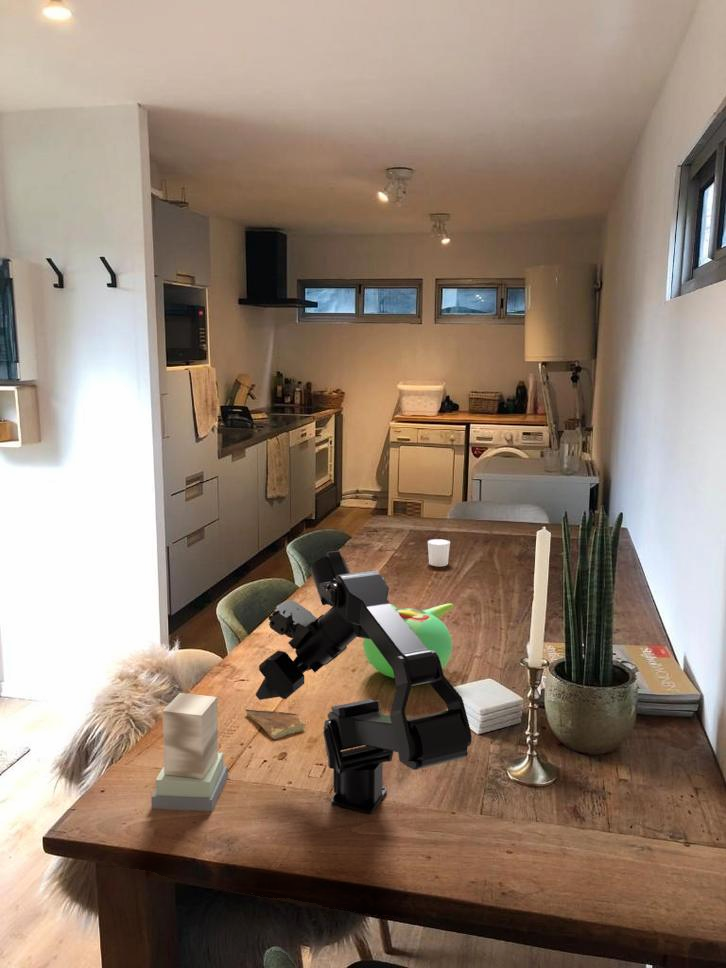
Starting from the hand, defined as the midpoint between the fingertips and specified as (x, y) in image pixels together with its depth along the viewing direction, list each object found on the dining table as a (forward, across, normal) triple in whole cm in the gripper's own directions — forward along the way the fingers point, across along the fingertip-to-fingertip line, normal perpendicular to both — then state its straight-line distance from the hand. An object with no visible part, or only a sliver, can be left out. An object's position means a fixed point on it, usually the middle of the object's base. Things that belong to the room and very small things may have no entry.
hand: (273, 684), depth 122 cm
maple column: (+11, +12, +2) cm, 17 cm away
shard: (+15, -10, +6) cm, 19 cm away
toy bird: (+5, -40, +15) cm, 43 cm away
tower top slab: (+13, +12, +3) cm, 18 cm away
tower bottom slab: (+15, +12, +5) cm, 20 cm away
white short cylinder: (+19, -117, +1) cm, 119 cm away
